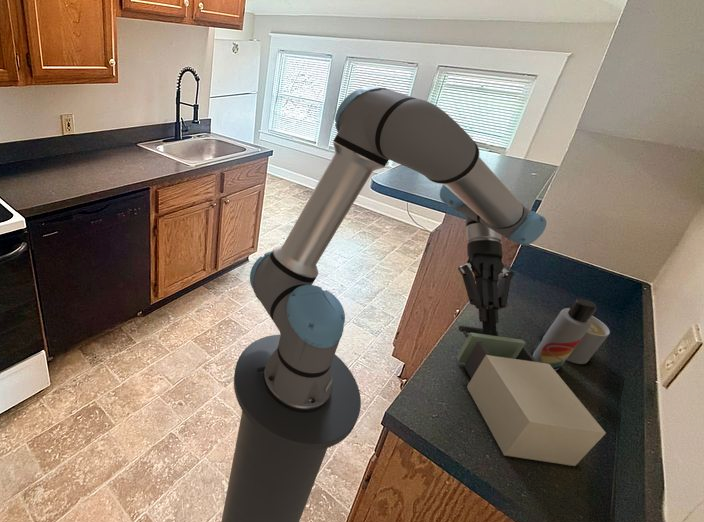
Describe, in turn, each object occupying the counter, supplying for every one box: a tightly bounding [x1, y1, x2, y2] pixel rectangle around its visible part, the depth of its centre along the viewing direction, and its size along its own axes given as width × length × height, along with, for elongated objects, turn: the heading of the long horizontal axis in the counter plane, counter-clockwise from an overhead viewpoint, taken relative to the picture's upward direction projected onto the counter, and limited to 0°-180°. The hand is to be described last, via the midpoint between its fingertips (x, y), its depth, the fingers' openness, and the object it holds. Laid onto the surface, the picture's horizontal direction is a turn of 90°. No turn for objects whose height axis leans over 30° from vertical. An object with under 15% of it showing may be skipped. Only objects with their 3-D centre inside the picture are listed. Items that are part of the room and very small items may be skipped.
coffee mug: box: [542, 307, 611, 365], centre depth 101 cm, size 13×10×10 cm
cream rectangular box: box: [466, 355, 607, 467], centre depth 78 cm, size 16×14×11 cm
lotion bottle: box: [532, 298, 598, 372], centre depth 92 cm, size 6×6×20 cm
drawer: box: [455, 324, 537, 380], centre depth 88 cm, size 21×12×9 cm, turn 175°
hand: (489, 336), depth 92 cm, fingers closed
